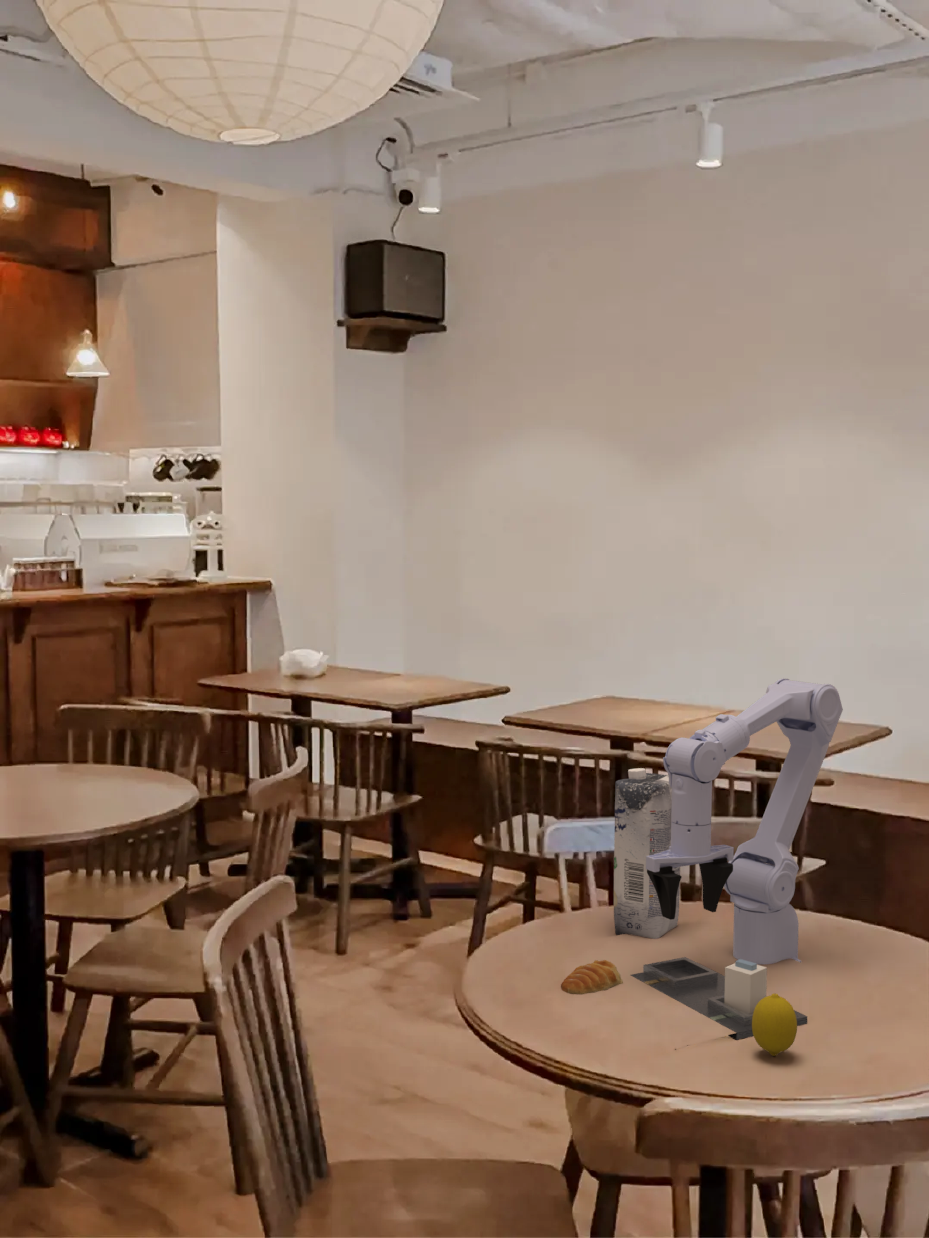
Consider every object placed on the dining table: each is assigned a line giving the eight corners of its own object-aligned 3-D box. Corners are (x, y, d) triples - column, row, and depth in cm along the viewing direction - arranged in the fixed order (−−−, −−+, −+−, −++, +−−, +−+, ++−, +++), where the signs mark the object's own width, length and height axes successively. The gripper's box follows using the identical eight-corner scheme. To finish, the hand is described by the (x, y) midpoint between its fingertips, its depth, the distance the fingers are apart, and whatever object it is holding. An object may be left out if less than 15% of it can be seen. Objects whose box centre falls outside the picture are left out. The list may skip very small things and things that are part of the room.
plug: (740, 1002, 178) (741, 955, 178) (766, 1010, 176) (767, 962, 175) (724, 1010, 176) (725, 962, 175) (749, 1018, 173) (750, 969, 172)
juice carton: (684, 929, 213) (686, 767, 211) (658, 947, 205) (660, 778, 202) (634, 920, 218) (636, 762, 216) (607, 937, 209) (609, 772, 207)
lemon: (745, 1047, 166) (746, 986, 165) (787, 1046, 166) (789, 985, 166) (759, 1065, 160) (760, 1002, 160) (802, 1063, 161) (804, 1001, 160)
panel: (696, 968, 195) (696, 954, 195) (807, 1023, 174) (807, 1007, 174) (630, 981, 189) (630, 966, 189) (736, 1039, 168) (736, 1023, 168)
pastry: (585, 1007, 180) (585, 980, 180) (548, 994, 185) (548, 968, 184) (626, 989, 187) (626, 963, 186) (590, 978, 191) (590, 953, 191)
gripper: (712, 811, 194) (710, 899, 195) (633, 821, 187) (632, 913, 188) (744, 820, 188) (741, 912, 189) (663, 831, 181) (662, 926, 182)
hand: (689, 913), depth 188 cm, fingers open, 7 cm apart
